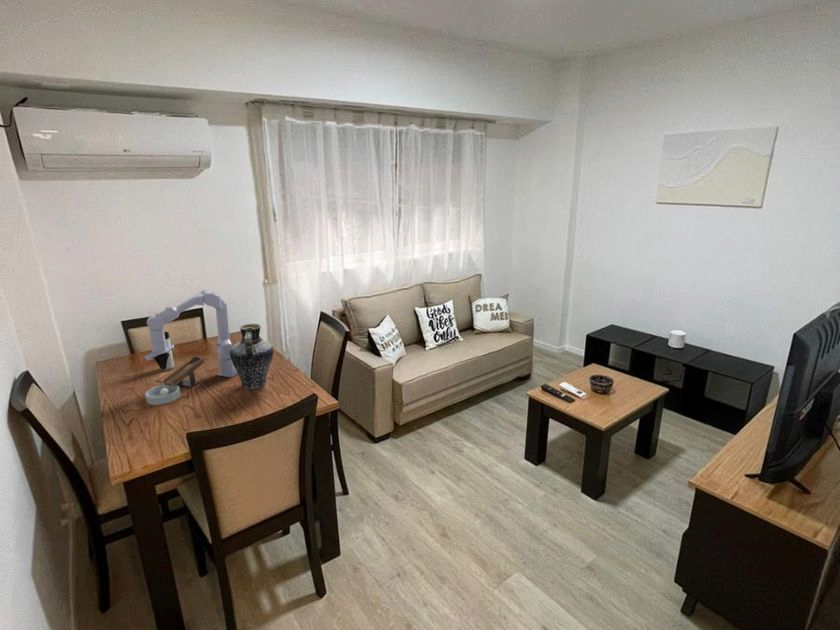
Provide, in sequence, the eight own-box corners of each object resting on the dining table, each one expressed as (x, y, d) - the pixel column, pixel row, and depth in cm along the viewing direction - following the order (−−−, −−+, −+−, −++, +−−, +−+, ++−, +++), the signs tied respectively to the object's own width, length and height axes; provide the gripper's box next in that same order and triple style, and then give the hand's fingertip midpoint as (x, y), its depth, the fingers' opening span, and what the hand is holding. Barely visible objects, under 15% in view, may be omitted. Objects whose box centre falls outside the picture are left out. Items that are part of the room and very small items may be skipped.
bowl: (186, 393, 208) (185, 386, 207) (163, 406, 196) (162, 399, 195) (163, 389, 212) (162, 382, 211) (139, 402, 200) (138, 395, 198)
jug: (233, 380, 222) (226, 322, 213) (274, 373, 229) (268, 317, 221) (234, 398, 204) (226, 336, 195) (279, 390, 211) (273, 330, 202)
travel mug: (165, 371, 231) (159, 335, 225) (158, 369, 234) (152, 332, 228) (177, 367, 236) (171, 331, 230) (170, 365, 239) (164, 329, 233)
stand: (199, 383, 218) (197, 370, 216) (191, 388, 213) (189, 374, 211) (182, 381, 220) (180, 368, 218) (174, 385, 216) (172, 372, 214)
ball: (171, 391, 206) (167, 387, 203) (167, 398, 204) (163, 394, 201) (165, 390, 207) (161, 386, 204) (161, 397, 205) (156, 393, 202)
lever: (205, 363, 223) (202, 356, 221) (175, 387, 206) (172, 380, 204) (184, 361, 226) (182, 353, 224) (153, 384, 209) (150, 376, 207)
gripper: (164, 335, 214) (168, 361, 218) (138, 346, 200) (143, 373, 204) (176, 336, 212) (180, 363, 216) (150, 347, 198) (155, 375, 202)
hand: (163, 368), depth 210 cm, fingers closed
